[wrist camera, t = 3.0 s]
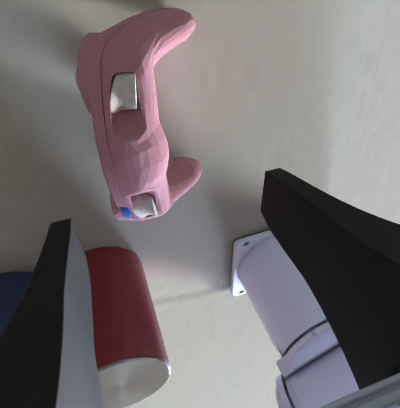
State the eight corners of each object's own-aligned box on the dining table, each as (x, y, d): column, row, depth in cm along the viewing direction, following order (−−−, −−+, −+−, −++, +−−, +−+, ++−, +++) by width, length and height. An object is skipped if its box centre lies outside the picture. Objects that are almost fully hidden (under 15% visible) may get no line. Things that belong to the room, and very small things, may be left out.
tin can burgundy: (136, 237, 25) (166, 347, 19) (146, 286, 29) (174, 389, 23) (50, 260, 24) (53, 385, 18) (73, 307, 28) (83, 423, 22)
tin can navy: (44, 261, 24) (45, 388, 18) (68, 309, 28) (76, 425, 22) (-53, 287, 22) (-88, 434, 16) (-13, 333, 26) (-29, 465, 20)
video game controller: (104, 0, 17) (33, 48, 11) (198, -1, 16) (168, 49, 11) (136, 167, 23) (101, 245, 18) (204, 170, 23) (187, 252, 17)
